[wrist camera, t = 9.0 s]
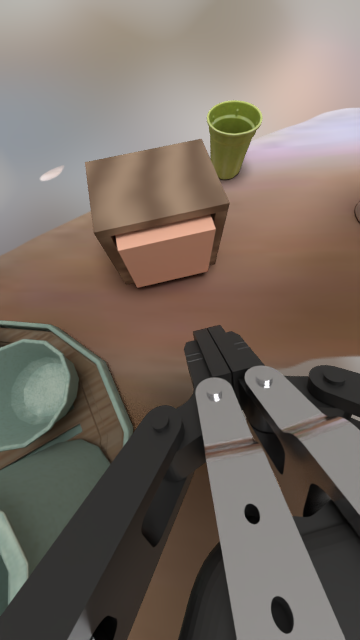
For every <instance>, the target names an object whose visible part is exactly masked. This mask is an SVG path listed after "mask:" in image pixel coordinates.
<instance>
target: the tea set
mask: <svg viewBox="0 0 360 640" xmlns="http://www.w3.org/2000/svg"><path fill="white" fill-rule="evenodd" d="M132 434H133V426H132V423H131V421H130V419H129V416H128V414H127V412H126V409H125V407H124V404H123V402H122V400H121V397H120V395H119V393H118V390H117V388H116V386H115V383H114V381H113V379H112V376H111V374H110V372H109V369H108V367H107V364H106V362H105V361H104V360H102V359H101V358H99V357H98V356H97V355H95V354H94V353H93V352H91V351H90V350H88V349H87V348H86V347H84V346H83V345H81V344H80V343H79V342H77V341H76V340H75V339H73V338H72V337H70V336H69V335H68V334H66V333H65V332H64V331H62V330H61V329H59V328H58V327H56V326H53V325H51V324H39V323H26V322H14V321H2V320H0V616H1V615H2V613H3V612H4V611H5V609H6V608H7V606H8V605H9V604H10V602H11V601H12V599H13V598H14V597H15V595H16V594H17V593H18V591H19V590H20V588H21V587H22V586H23V584H24V583H25V582H26V580H27V579H28V577H29V576H30V575H31V573H32V572H33V570H34V569H35V568H36V566H37V565H38V564H39V562H40V561H41V559H42V558H43V557H44V555H45V554H46V553H47V551H48V550H49V548H50V547H51V546H52V544H53V543H54V542H55V540H56V539H57V537H58V536H59V535H60V533H61V532H62V530H63V529H64V528H65V526H66V525H67V524H68V522H69V521H70V519H71V518H72V517H73V515H74V514H75V513H76V511H77V510H78V508H79V507H80V506H81V504H82V503H83V502H84V500H85V499H86V497H87V496H88V495H89V493H90V492H91V490H92V489H93V488H94V486H95V485H96V484H97V482H98V481H99V479H100V478H101V477H102V475H103V474H104V473H105V471H106V470H107V468H108V467H109V466H110V464H111V463H112V461H113V460H114V459H115V457H116V456H117V455H118V453H119V452H120V450H121V449H122V448H123V446H124V445H125V444H126V442H127V441H128V439H129V438H130V437H131V435H132Z"/></svg>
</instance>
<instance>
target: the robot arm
mask: <svg viewBox="0 0 360 640" xmlns="http://www.w3.org/2000/svg"><path fill="white" fill-rule="evenodd" d="M355 213H356V217H357V218H358V220H359V221H360V201H359V203H358V204H357V205H356V208H355ZM193 335H194V341H190V342H186V345H185V348H184V351H185V356H186V360H187V365H188V369H189V373H190V377H191V380H192V384H193V388H194V392H193V395H192V396H191V398H190V399H189V400H188V401H187V402H186V403H185V404H183V405H182V406H180V407H178V408H177V409H175V408H174V407H172V406H167V405H163V406H159V407H156V408H154V409H152V410H151V411H150V412H149V413H148V414H147V415H146V416H145V417H144V419H143V420H142V421H141V423H140V424H139V426H138V427H137V428H136V430H135V431H134V433H133V434H132V435H131V437H130V438H129V439H128V441H127V442H126V444H125V445H124V446H123V448H122V449H121V450H120V452H119V453H118V455H117V456H116V457H115V459H114V460H113V461H112V463H111V464H110V466H109V467H108V468H107V470H106V471H105V473H104V474H103V475H102V477H101V478H100V479H99V481H98V482H97V484H96V485H95V486H94V488H93V489H92V490H91V492H90V493H89V495H88V496H87V497H86V499H85V500H84V502H83V503H82V504H81V506H80V507H79V508H78V510H77V511H76V513H75V514H74V515H73V517H72V518H71V519H70V521H69V522H68V524H67V525H66V526H65V528H64V529H63V530H62V532H61V533H60V535H59V536H58V537H57V539H56V540H55V542H54V543H53V544H52V546H51V547H50V548H49V550H48V551H47V553H46V554H45V555H44V557H43V558H42V559H41V561H40V562H39V564H38V565H37V566H36V568H35V569H34V570H33V572H32V573H31V575H30V576H29V577H28V579H27V580H26V582H25V583H24V584H23V586H22V587H21V588H20V590H19V591H18V593H17V594H16V595H15V597H14V598H13V599H12V601H11V602H10V604H9V605H8V606H7V608H6V609H5V611H4V612H3V613H2V615H1V616H0V640H127V638H128V636H129V633H130V631H131V628H132V626H133V623H134V621H135V618H136V616H137V613H138V611H139V608H140V606H141V603H142V601H143V598H144V596H145V593H146V591H147V588H148V586H149V583H150V581H151V578H152V576H153V573H154V571H155V568H156V566H157V564H158V561H159V559H160V556H161V554H162V551H163V549H164V546H165V544H166V541H167V539H168V536H169V534H170V531H171V529H172V526H173V524H174V521H175V519H176V516H177V514H178V511H179V509H180V506H181V504H182V501H183V499H184V496H185V494H186V492H187V489H188V487H189V484H190V482H191V479H192V477H193V474H194V471H195V470H196V469H197V468H198V467H200V466H201V465H202V464H204V463H205V462H207V468H208V474H209V479H210V485H211V491H212V497H213V503H214V509H215V514H216V520H217V526H218V532H219V538H220V542H219V543H218V544H217V545H216V546H215V547H214V548H213V549H212V551H211V552H210V553H209V555H208V556H207V558H206V559H205V561H204V563H203V565H202V567H201V569H200V571H199V573H198V575H197V577H196V580H195V583H194V585H193V588H192V591H191V594H190V598H189V601H188V605H187V609H186V612H185V616H184V620H183V624H182V628H181V631H180V635H179V639H178V640H360V421H358V420H355V419H353V418H351V416H352V414H353V415H355V416H358V417H360V374H359V373H356V372H352V371H348V370H345V369H342V368H338V367H334V366H328V365H321V366H316V367H314V368H312V369H311V371H310V373H309V377H308V376H301V377H300V376H283V375H282V374H281V373H280V372H279V371H278V370H276V369H274V368H272V367H268V366H265V365H264V364H263V363H262V362H261V360H260V359H259V358H258V357H257V356H256V354H255V353H254V352H253V351H252V350H251V348H250V347H248V345H247V344H246V342H244V340H243V339H242V338H241V336H240V335H238V334H236V333H234V332H232V331H231V332H227V333H226V332H225V331H224V329H223V328H222V327H221V325H217V326H213V327H209V328H207V329H206V328H205V329H201V330H197V331H193ZM242 410H243V411H244V413H245V415H246V420H247V422H246V420H245V418H244V415H243V412H242ZM252 436H253V437H252ZM253 438H254V439H255V440H254V439H253ZM272 470H273V471H272ZM273 472H274V474H275V476H276V478H277V480H278V482H279V484H280V487H281V490H280V487H279V485H278V483H277V480H276V478H275V476H274V474H273ZM281 491H282V492H281ZM290 511H291V513H292V515H293V516H292V515H291V513H290Z"/></svg>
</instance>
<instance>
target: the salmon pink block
mask: <svg viewBox="0 0 360 640" xmlns="http://www.w3.org/2000/svg"><path fill="white" fill-rule="evenodd" d="M215 231H216V228H215V225H214V223H213V220H212V217H211V215H210V214H209V215H205V216H200V217H195V218H191V219H186V220H182V221H177V222H173V223H168V224H164V225H159V226H155V227H150V228H145V229H141V230H136V231H132V232H127V233H123V234H118V235H115V236H116V242H117V248H118V252H119V254H120V256H121V258H122V259H123V261H124V263H125V265H126V267H127V269H128V271H129V273H130V275H131V277H132V278H133V280H134V282H135V284H136V286H137V288H139V287H143V286H147V285H152V284H156V283H160V282H164V281H169V280H173V279H177V278H181V277H186V276H190V275H194V274H199V273H203V272H207V271H208V267H209V262H210V257H211V252H212V247H213V242H214V236H215Z"/></svg>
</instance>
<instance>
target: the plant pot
mask: <svg viewBox="0 0 360 640" xmlns="http://www.w3.org/2000/svg"><path fill="white" fill-rule="evenodd" d="M207 123H208V125H209V132H210V144H211V145H210V147H211V162H212V164H213V166H214V169H215V171H216V173H217V175H218V178H220V179H231V178H233V177H234V176H235V175H236V174H238V173H239V170H240V168H241V165H242V162H243V160H244V157H245V155H246V152H247V149H248V147H249V144H250V142H251V139H252V137H253V136H254V134H255V132H256V130H257V129H258V128H259V127H260V125H261V123H262V113H261V111H260V110H259V109H258V108H257V107H256V106H254V105H253V104H250V103H248V102H244V101H236V100H235V101H225V102H222V103H219V104H217V105H215V106H214V107H213V108H212V109H210V111H209V112H208V115H207Z"/></svg>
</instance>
